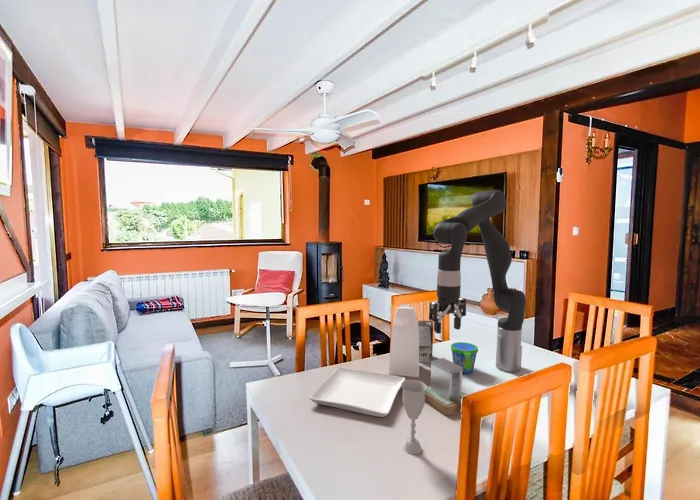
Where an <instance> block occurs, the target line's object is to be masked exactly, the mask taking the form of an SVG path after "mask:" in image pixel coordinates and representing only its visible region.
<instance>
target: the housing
mask: <svg viewBox="0 0 700 500" xmlns="http://www.w3.org/2000/svg"><path fill="white" fill-rule="evenodd" d="M430 386H431V390H433V391H434V392H436V393H437V394H439V395H441V396H442V397H444V398H446V399H447V400H452V399H456V398H459V397H461V392H463V391H462V390H463V389H462V386H463V373H462V367H461V366H459V365H457V364H455V363H453V361H451V360H449V359H446V358H444V357H443V358H437V359H432V361H431V363H430Z"/></svg>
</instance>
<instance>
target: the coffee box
mask: <svg viewBox="0 0 700 500" xmlns="http://www.w3.org/2000/svg"><path fill="white" fill-rule="evenodd" d="M418 325H419V363H424V364H427V363H428V364H431V361H433V349H434V348H433V347H434V345H433V344H434V343H433V342H434V321H432V320H418Z"/></svg>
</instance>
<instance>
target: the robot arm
mask: <svg viewBox="0 0 700 500" xmlns="http://www.w3.org/2000/svg"><path fill="white" fill-rule="evenodd" d="M471 202H472V203H471V204H472V206H470V207H468V208H466V209H463V210H462V211H461V212H459V213H457V214H456V215H455V216H453V217H450V218H447V219H443V220H441V221H440V222H438V223H437V224H436V225H435V227H434V229H433V233H432V235H433V238H434V240H435V241H436V242H437V243H439V244H443V245H451V247H450V249H449V250H444V251H441V252H439V253H438V262H437V263H438V267H437V276H436V277H437V279H436V296H437V302H435V301H434V302H433V301H430V303H429V311H428V312H429V313H428V321H433V332H434V333H435V334H437V335H438V334H439V335H440V334H441V333H442V320H443V319H444V318H445V317H446V315H450V314H452V315H453V316H454V317H453V329H455V330H457V331H458V330H460V329H461V326H462V318H463V317H466V316H467V301H466V298H462V297H461V286H462V285H461V282H462V275H461V259H462V258H461V257H462V255H463V251H464V247H465V244H466V241H467V236H468V233H470V232H471V231H472V230H474V228H476V227H477V226H478V229H479V231H480V234H481V239H482V243H483V246H484V247H483V249H484V252H485V256H486V260H487V265H488V269H489V274H490V278H491V286H492V294H493V295H492V296H493V302H494V304H495V306H496V307H497V308H498V309H500V310H503V311H505V312H508V315H507V317H501V318H499V319H498V320H497V329H496V330H497V331H496V334H497V335H496V353H495V354H496V355H495V356H496V357H495V367H496V368H497V369H498V370H500V371H503V372H507V373H516V372H520V370H521V368H522V357H523V356H522V355H523V346H522V333H523V332H522V330H523V325H524V324H523V323H524V321H525V313H526V303H527V298H526V295H525V293H524V292H523V291H521V290H518V289H514V288H509V286H508V283H507V278H506V277H507V273H508V272H509V268H510V267H511V264H512V260H513V259H512V257H513V256H512V251H511V247H510V244H509V242H508V240H507V239H506V238H505V237H504V235H502V233H501V232H499V230H498V229H497V228H496V227H495V226H494V225H493V223H492V220H491V218H492V217H494V216H498V215H499V214H502V212H504V210H505V209H506V205H507V200H506V196H505V193H504V192H503V191H501V190H499V189H492V190H491V189H490V190H483V191H477V192H474V194H473V195H472V199H471Z"/></svg>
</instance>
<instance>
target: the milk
mask: <svg viewBox="0 0 700 500" xmlns="http://www.w3.org/2000/svg"><path fill="white" fill-rule="evenodd" d="M418 322H419V320H418V317H417V314H416V311H415V309H414V307H405V306H403V307H402V306H398V307H397V310H396V312H395V314H394V318H393V321H392V326H391V334H390V347H389V348H390V352H389V365H388V375H393V376H399V377H414V378H420V362H419V325H418Z"/></svg>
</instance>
